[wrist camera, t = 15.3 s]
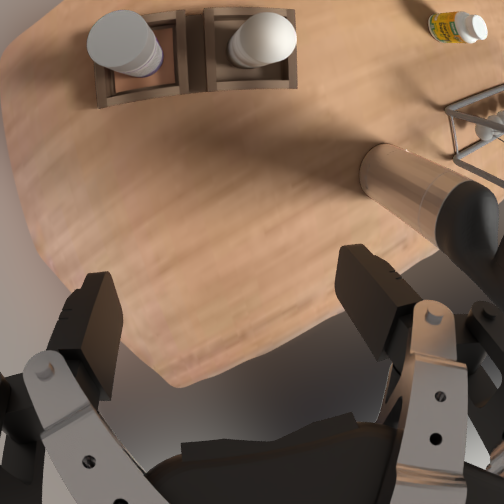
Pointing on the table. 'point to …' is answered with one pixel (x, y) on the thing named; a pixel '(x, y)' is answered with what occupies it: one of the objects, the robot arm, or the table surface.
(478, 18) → the supplement bottle
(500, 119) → the newton's cradle
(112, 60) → the container
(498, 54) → the table surface
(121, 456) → the robot arm
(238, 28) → the wooden divided tray
